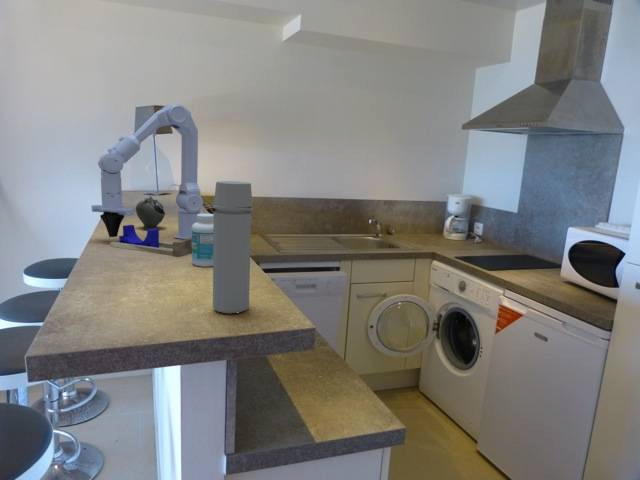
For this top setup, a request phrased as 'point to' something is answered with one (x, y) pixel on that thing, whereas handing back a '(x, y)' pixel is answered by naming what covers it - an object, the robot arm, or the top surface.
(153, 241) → the blue cradle block
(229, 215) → the water bottle
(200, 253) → the pill bottle
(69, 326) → the top surface
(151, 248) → the guide channel
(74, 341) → the top surface
